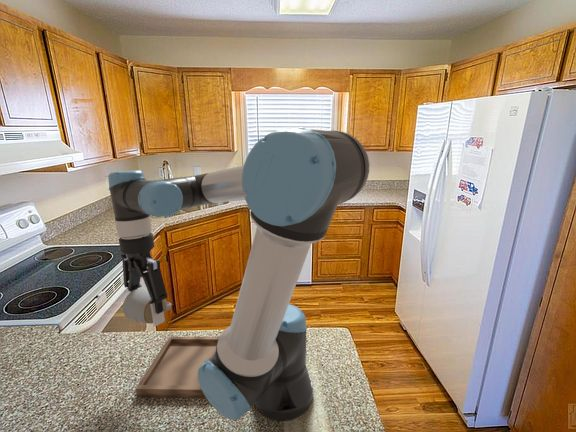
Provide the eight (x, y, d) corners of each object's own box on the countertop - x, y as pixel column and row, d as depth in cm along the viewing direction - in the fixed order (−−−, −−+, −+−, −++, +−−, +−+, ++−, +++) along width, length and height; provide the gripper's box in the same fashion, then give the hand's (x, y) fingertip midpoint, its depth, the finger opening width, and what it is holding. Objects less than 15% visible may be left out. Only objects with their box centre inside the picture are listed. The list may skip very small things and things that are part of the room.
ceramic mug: (147, 330, 71) (143, 301, 70) (124, 323, 75) (119, 296, 73) (179, 309, 81) (176, 283, 79) (157, 304, 84) (154, 279, 83)
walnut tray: (233, 343, 91) (233, 336, 91) (217, 398, 72) (216, 389, 71) (170, 343, 92) (169, 336, 91) (136, 397, 72) (135, 388, 72)
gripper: (175, 236, 68) (186, 323, 74) (128, 225, 80) (141, 300, 86) (144, 246, 62) (159, 339, 68) (99, 232, 75) (114, 312, 80)
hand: (149, 317), depth 77 cm, fingers closed on ceramic mug, 9 cm apart
